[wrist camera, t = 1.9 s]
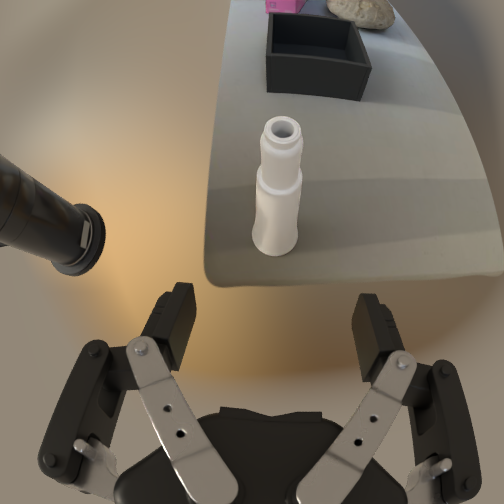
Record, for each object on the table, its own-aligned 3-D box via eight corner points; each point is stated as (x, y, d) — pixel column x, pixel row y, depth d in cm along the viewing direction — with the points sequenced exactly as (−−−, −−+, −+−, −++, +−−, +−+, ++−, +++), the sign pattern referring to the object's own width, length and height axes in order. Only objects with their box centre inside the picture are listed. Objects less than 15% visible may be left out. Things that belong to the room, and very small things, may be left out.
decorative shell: (400, 42, 47) (411, 14, 37) (335, 33, 47) (340, 0, 38) (375, 11, 51) (381, -14, 41) (316, 3, 51) (319, -24, 42)
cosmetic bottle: (253, 210, 38) (238, 93, 17) (298, 214, 37) (329, 99, 16) (250, 254, 37) (226, 168, 15) (296, 258, 36) (335, 176, 15)
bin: (266, 92, 43) (265, 55, 35) (269, 43, 47) (269, 12, 38) (360, 101, 42) (372, 67, 33) (347, 50, 46) (354, 21, 37)
